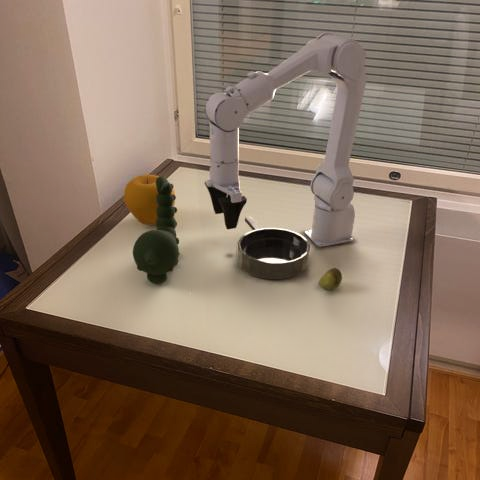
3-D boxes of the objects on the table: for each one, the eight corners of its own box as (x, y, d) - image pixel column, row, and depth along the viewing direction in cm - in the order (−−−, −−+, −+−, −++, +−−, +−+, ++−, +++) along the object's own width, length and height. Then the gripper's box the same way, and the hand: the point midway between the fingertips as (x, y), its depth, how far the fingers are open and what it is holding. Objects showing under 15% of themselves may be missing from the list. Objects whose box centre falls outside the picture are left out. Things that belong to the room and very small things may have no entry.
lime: (316, 292, 105) (319, 271, 102) (322, 280, 108) (324, 260, 105) (337, 296, 103) (340, 276, 100) (342, 284, 107) (345, 264, 104)
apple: (133, 235, 123) (128, 192, 116) (121, 214, 133) (115, 172, 126) (183, 226, 128) (180, 183, 121) (168, 206, 137) (165, 165, 130)
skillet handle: (251, 219, 124) (251, 216, 123) (263, 233, 118) (264, 230, 117) (244, 220, 123) (244, 217, 123) (256, 235, 117) (257, 231, 117)
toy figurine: (150, 246, 122) (129, 297, 101) (143, 169, 112) (117, 207, 91) (189, 247, 122) (175, 298, 101) (185, 170, 112) (169, 208, 91)
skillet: (289, 240, 122) (290, 223, 120) (320, 273, 111) (322, 255, 108) (227, 251, 118) (227, 234, 115) (253, 287, 106) (254, 269, 103)
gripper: (195, 149, 105) (197, 209, 113) (217, 174, 94) (218, 238, 102) (226, 145, 107) (227, 204, 115) (252, 169, 96) (250, 232, 104)
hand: (225, 220), depth 109 cm, fingers open, 7 cm apart
